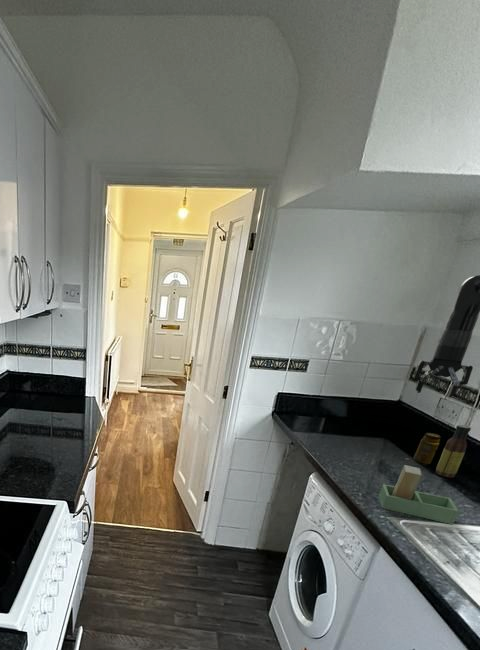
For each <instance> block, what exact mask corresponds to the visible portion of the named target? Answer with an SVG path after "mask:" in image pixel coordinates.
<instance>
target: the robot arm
mask: <svg viewBox="0 0 480 650" xmlns="http://www.w3.org/2000/svg"><path fill="white" fill-rule="evenodd" d="M457 292H458V294H457V298H456V300H455V303H454V307H453V309H452V311H451V312H450V314H449V316H448V319H447V321H446V323H445V326H444V329H443V331H442V333H441V335H440V337H439V339H438V342H437V345H436V348H435V351H434V354H433V356H432V359H431V360H430V361H426V360H423V359H421V360H419V361H418V364H417V366H416V368H415V370H414V372H413V375H412V377H413V379H414V380H417V383H416V386H415V391H416V393H418V394H421V392H422V390H423V387H424V385H425V381H426V380H428V379H429V378H431V377H433V376H435V377H443V378H450V380H451V382H452V384H451V385H450V388H449V391H448V393H447V397H448V398H453V397H454V396H455V395H456V394H457V391H458V388H459V387H460V386H466V385H468V384H469V380H470V377H471V374H472V371H473V368H474V367H473V365H471V364H467V365H466V364H462V363H463V360H464V358H465V355H466V352H467V350H468V348H469V345H470V343H471V339H472V337H473V332H474V329H475V328H476V324H477V322H478V320H479V319H478V318H479V315H480V274H478V275H473V276H470V277H468V278H466V279H465V280H463V281H462V283H461V284H460V285H459V287H458V290H457ZM427 366H428V367H429V370H427V371H426V372H425V373H424V374H422V375H421V373H422V371H423V369H425V368H426V367H427ZM460 370H461V371H462V372H463V374H462V377H461V379H460V380H459V378H458V376H457V374H456V373H458V372H459V371H460Z"/></svg>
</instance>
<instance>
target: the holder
mask: <svg viewBox="0 0 480 650" xmlns="http://www.w3.org/2000/svg"><path fill="white" fill-rule="evenodd" d="M394 488H395V485H390V484H384V483H383V484H382V486H381V489H380V492H379V493H378V497H379V502H380V507H381V509H384V510H387V511H388V510H389V511H393V512H397V513H401V514H406V515H410V516H414V517H418V518H423V519H426V520H432V521H435V522H436V521H437V522H439V523H440V522H441V523H445V524H450V525H454V523H455V520H456V519H457V516H458V514H459V512H460V511H459V509H458V508H457V506H456V504H455V502H454V501H453V499H452V498H451V497H448V496H447V497H446V496H442V495H438V494H437V495H436V494H432V493H428V492H422V491H417V490H415V491H414V494H413V496H412V498H411V500H409V499H404V498H400V497H395V496H391V495H392V493H393V490H394Z"/></svg>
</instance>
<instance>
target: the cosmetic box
mask: <svg viewBox="0 0 480 650" xmlns="http://www.w3.org/2000/svg"><path fill="white" fill-rule="evenodd" d="M421 479H422V471H421V468H420V467H415V466H411V465H406V464H404V465H403V467H402V470H401V472H400V475H399V477H398V479H397V481H396V484H395V485H394V487H395V488H394V490H393V493H392V495H391V496H395V497H400V498H404V499H409V500H411V498H412V496H413V494H414V491H416V489H417V487H418V485H419V483H420V480H421Z"/></svg>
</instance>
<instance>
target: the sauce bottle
mask: <svg viewBox="0 0 480 650" xmlns="http://www.w3.org/2000/svg"><path fill="white" fill-rule="evenodd" d="M455 428H456V429H455V432H454V434H453V436H452V437H451V438H448V440H446V441H447V442H445V443H446V444H445V446H444V448H443V451H442V453H441V455H440V458H439V461H438V463H437V465H436V468H435V474H437V475H439V476H441V477H444V478H449V479H452V478H454V477H455V476H456V474H457V473H458V470H459V468H460V466H461V464H462V461H463V458H464V457H465V453H466V450H467V448H468V443H467V438H468V435H469V433H470V431H471V430H472V427H471V426H469V425H465V424H457V425H456V426H455Z"/></svg>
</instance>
